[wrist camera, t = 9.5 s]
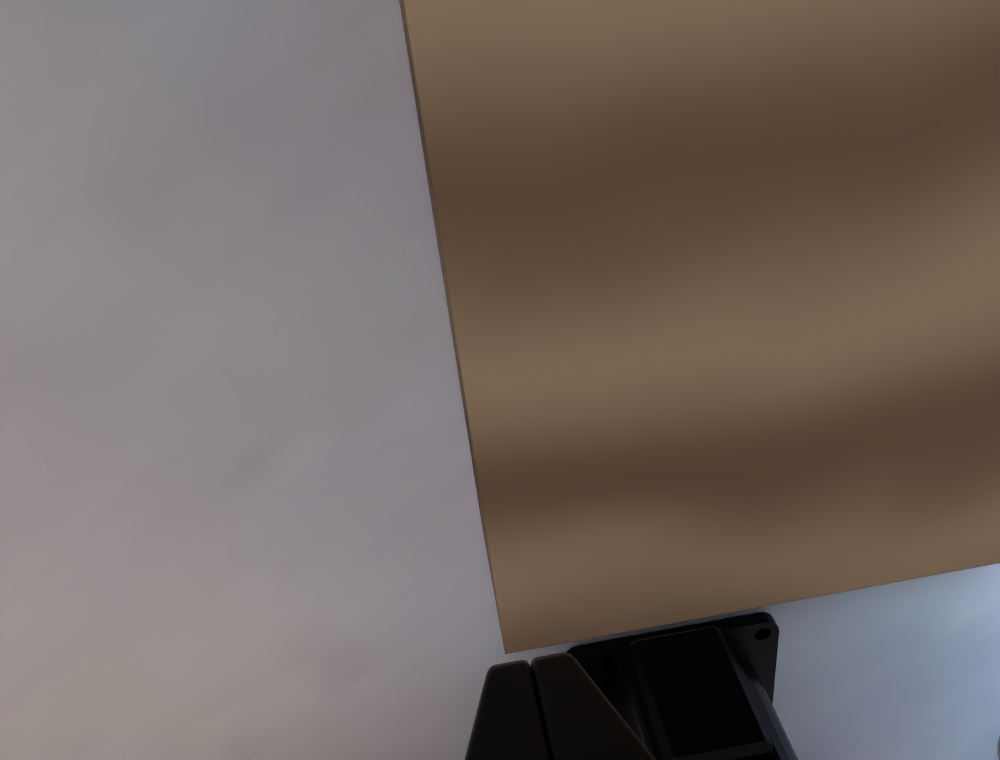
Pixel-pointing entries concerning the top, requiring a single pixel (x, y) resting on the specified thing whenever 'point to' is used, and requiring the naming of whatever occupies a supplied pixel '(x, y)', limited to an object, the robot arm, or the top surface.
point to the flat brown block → (717, 296)
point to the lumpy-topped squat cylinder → (999, 748)
